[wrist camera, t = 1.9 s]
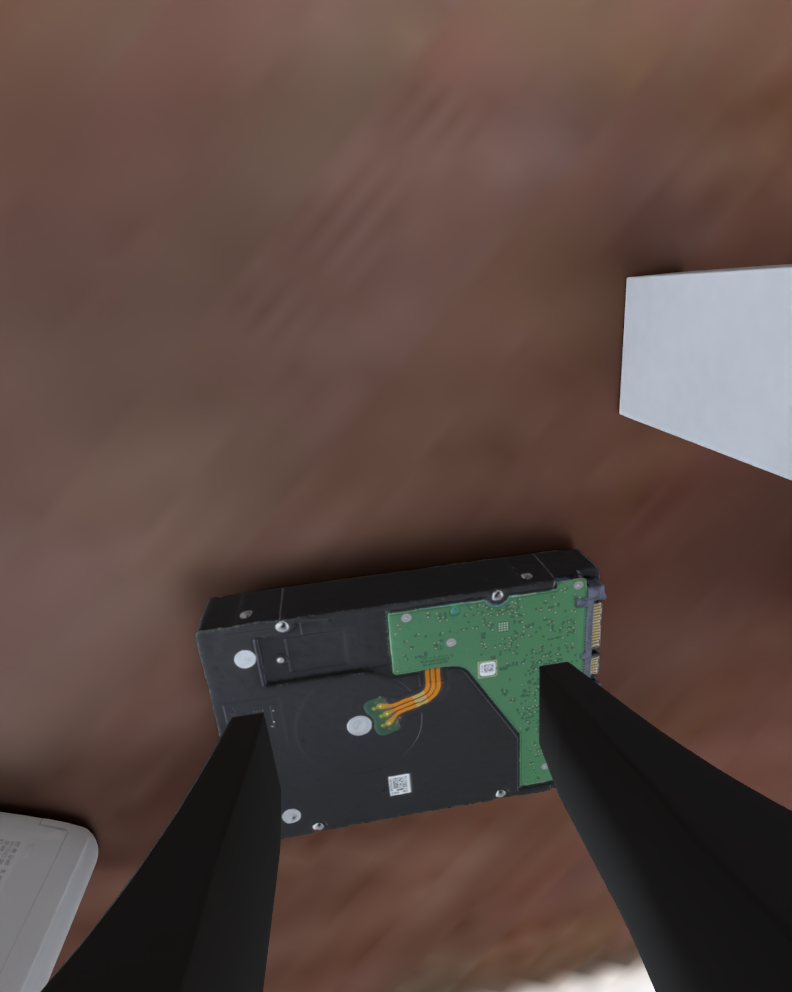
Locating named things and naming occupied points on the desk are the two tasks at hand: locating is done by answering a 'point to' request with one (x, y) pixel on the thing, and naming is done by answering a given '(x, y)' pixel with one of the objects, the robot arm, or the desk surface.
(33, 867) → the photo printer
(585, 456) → the desk surface
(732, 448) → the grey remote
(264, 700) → the disk drive
